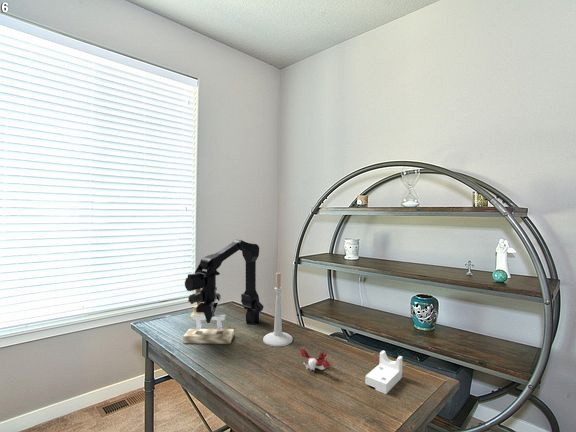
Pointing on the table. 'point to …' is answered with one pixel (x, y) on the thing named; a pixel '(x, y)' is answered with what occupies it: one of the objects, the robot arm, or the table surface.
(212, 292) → the robot arm
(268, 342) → the candlestick
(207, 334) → the maple rail
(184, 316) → the table surface
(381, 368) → the bracket
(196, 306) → the hand bell
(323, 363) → the figurine
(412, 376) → the table surface
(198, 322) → the steel clip
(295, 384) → the table surface
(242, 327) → the table surface
